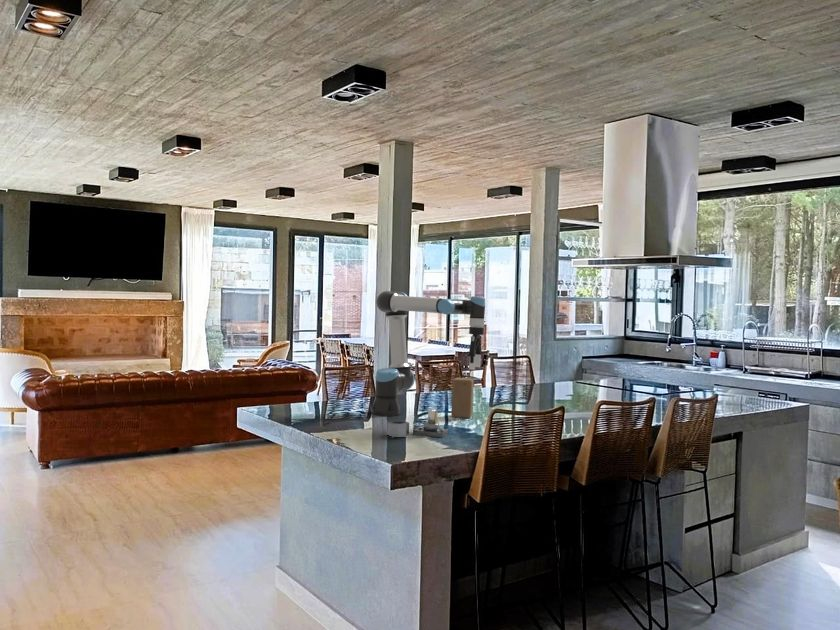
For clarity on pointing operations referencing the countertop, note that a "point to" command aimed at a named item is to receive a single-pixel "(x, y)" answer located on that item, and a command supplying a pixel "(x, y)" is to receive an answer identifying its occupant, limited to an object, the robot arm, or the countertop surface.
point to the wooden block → (462, 397)
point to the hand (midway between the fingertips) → (474, 368)
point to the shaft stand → (431, 426)
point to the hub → (398, 428)
